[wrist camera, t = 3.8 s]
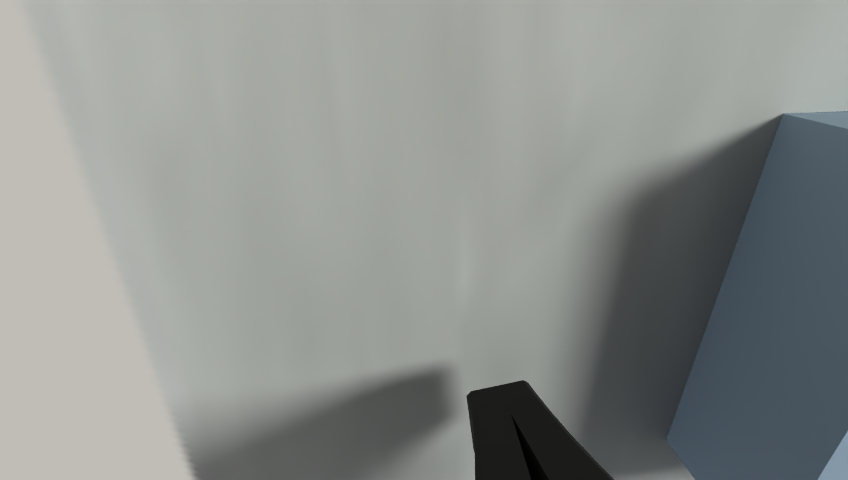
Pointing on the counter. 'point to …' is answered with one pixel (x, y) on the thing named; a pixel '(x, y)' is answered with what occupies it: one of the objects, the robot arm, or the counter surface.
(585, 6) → the counter surface
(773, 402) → the block
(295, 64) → the counter surface
